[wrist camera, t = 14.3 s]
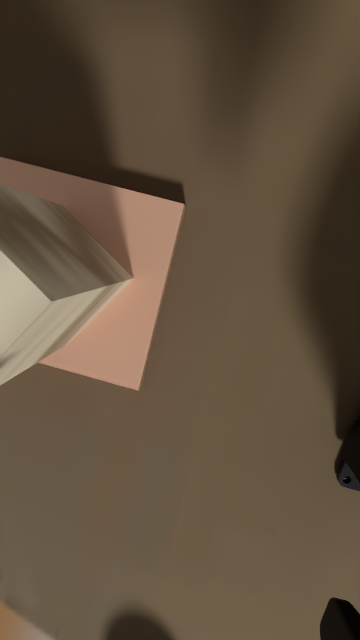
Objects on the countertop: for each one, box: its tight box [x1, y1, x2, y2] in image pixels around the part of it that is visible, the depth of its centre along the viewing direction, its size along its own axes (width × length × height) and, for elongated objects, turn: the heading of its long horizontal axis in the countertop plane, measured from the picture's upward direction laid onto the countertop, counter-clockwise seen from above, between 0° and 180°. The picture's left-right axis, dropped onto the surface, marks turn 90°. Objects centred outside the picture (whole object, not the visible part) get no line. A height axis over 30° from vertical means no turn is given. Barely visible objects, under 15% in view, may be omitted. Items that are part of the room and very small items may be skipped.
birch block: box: [0, 184, 134, 385], centre depth 14 cm, size 6×6×10 cm
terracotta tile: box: [0, 157, 186, 390], centre depth 20 cm, size 11×11×1 cm
